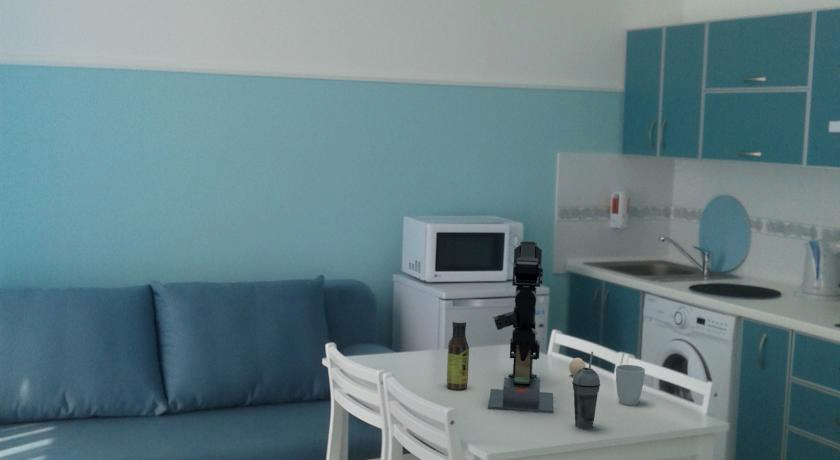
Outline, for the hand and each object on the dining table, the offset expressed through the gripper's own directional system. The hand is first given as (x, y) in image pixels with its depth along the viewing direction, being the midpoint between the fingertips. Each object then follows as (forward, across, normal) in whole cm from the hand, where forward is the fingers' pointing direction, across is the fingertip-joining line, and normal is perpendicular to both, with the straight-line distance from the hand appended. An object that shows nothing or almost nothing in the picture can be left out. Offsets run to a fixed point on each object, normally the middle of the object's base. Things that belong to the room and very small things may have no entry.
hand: (523, 359), depth 283 cm
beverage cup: (+13, +19, +17) cm, 28 cm away
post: (+8, 0, 0) cm, 8 cm away
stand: (+12, 0, 0) cm, 12 cm away
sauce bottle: (+13, -11, -19) cm, 25 cm away
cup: (+13, -7, +30) cm, 34 cm away
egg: (+13, -33, +17) cm, 39 cm away
